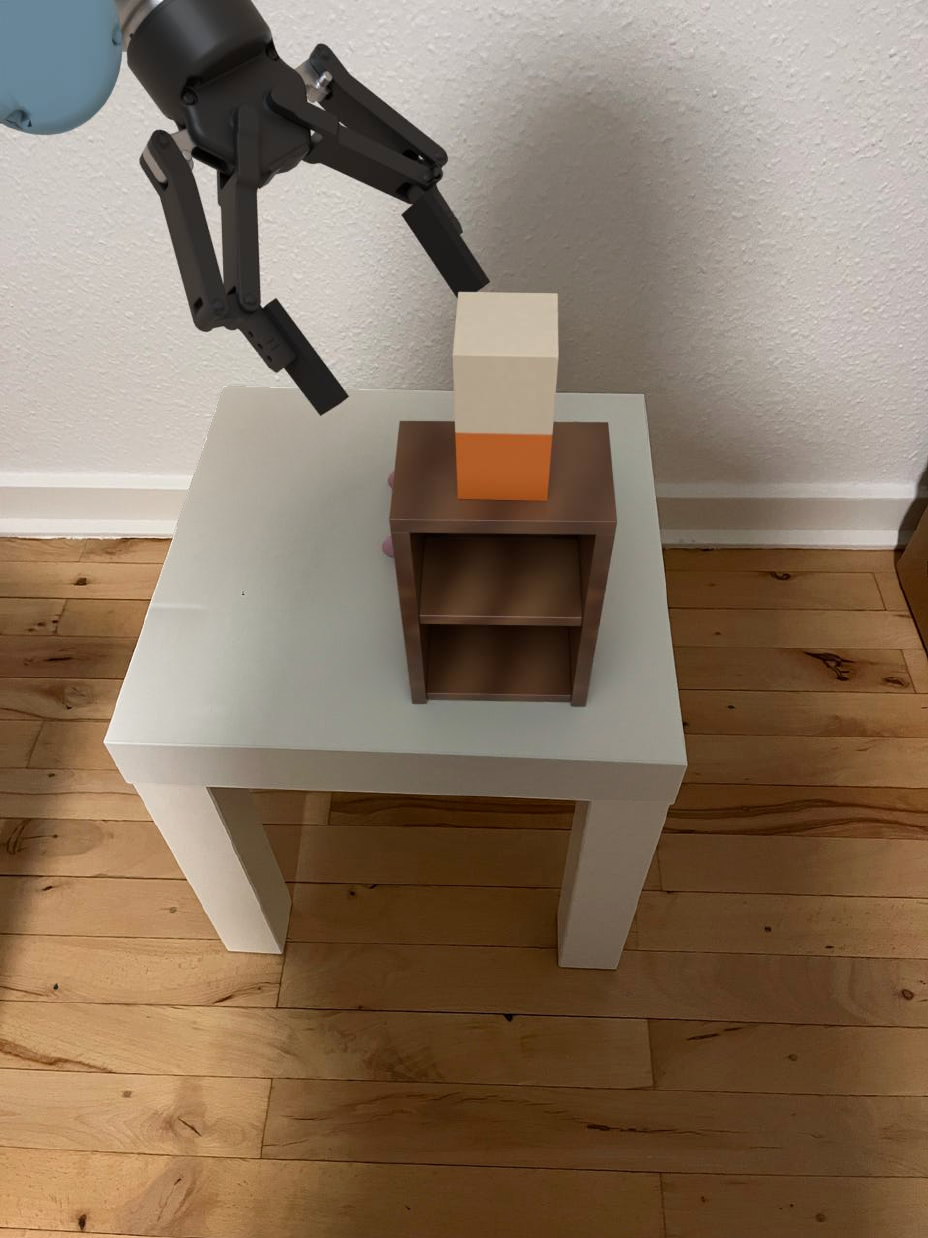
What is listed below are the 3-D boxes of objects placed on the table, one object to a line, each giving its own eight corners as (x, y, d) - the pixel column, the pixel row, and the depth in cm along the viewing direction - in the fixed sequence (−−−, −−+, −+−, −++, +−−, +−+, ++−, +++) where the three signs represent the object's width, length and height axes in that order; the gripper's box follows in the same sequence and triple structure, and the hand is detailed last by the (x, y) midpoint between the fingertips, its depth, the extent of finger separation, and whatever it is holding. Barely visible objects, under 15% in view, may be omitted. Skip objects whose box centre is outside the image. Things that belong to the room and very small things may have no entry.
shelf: (411, 704, 74) (388, 519, 57) (418, 614, 80) (399, 420, 62) (585, 707, 74) (617, 521, 56) (580, 616, 79) (608, 421, 62)
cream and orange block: (457, 499, 58) (452, 354, 49) (462, 437, 61) (458, 291, 52) (547, 501, 57) (558, 356, 48) (547, 439, 61) (557, 292, 52)
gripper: (-10, 57, 41) (292, 446, 48) (358, -103, 53) (560, 227, 59) (-28, 143, 47) (241, 476, 54) (304, -18, 59) (493, 273, 65)
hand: (409, 346), depth 56 cm, fingers open, 13 cm apart
